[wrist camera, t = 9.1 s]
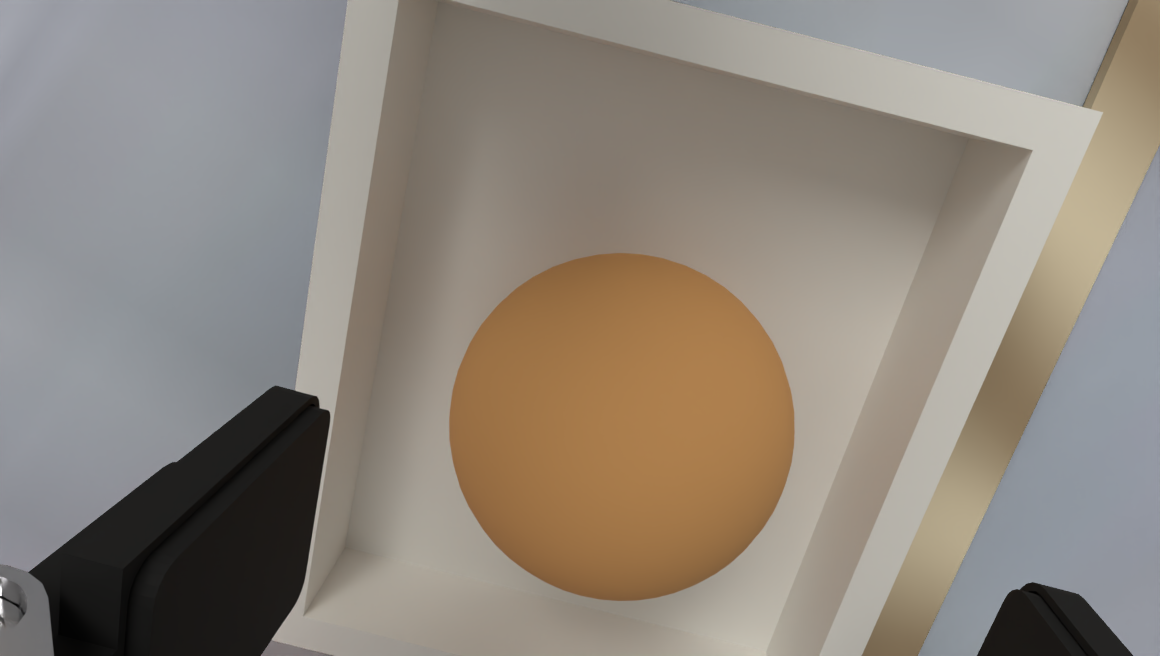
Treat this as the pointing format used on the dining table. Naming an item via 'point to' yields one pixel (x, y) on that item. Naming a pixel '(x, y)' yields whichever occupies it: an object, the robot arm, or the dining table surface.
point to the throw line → (1035, 327)
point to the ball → (621, 426)
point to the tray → (677, 233)
